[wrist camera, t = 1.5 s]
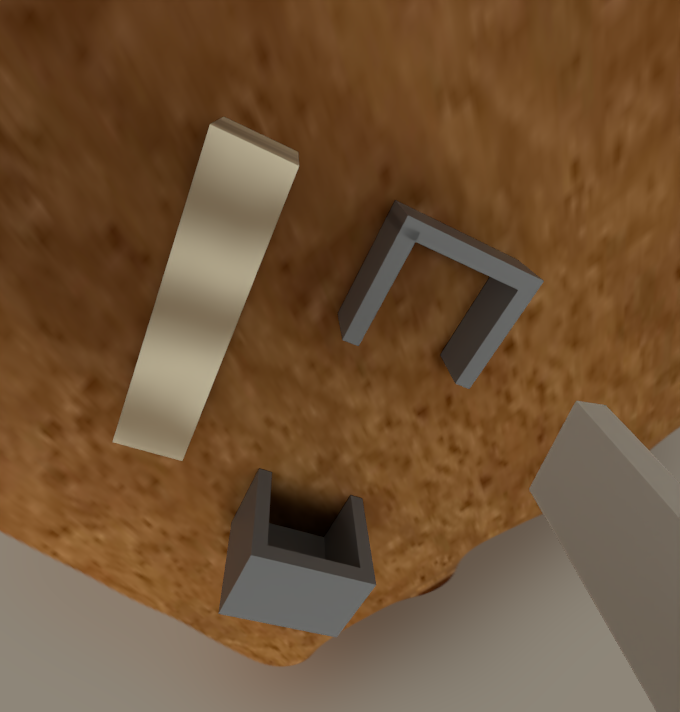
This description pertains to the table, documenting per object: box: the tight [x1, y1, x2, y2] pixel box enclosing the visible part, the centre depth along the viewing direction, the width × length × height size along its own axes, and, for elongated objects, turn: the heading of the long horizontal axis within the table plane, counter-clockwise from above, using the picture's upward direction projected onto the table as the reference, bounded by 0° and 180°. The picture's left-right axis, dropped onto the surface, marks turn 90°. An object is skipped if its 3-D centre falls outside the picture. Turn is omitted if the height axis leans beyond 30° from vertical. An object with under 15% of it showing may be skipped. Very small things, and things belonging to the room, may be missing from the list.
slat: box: [113, 117, 299, 461], centre depth 27 cm, size 18×4×5 cm, turn 155°
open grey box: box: [219, 469, 376, 637], centre depth 35 cm, size 8×6×8 cm
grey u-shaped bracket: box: [338, 200, 544, 389], centre depth 28 cm, size 8×8×4 cm
